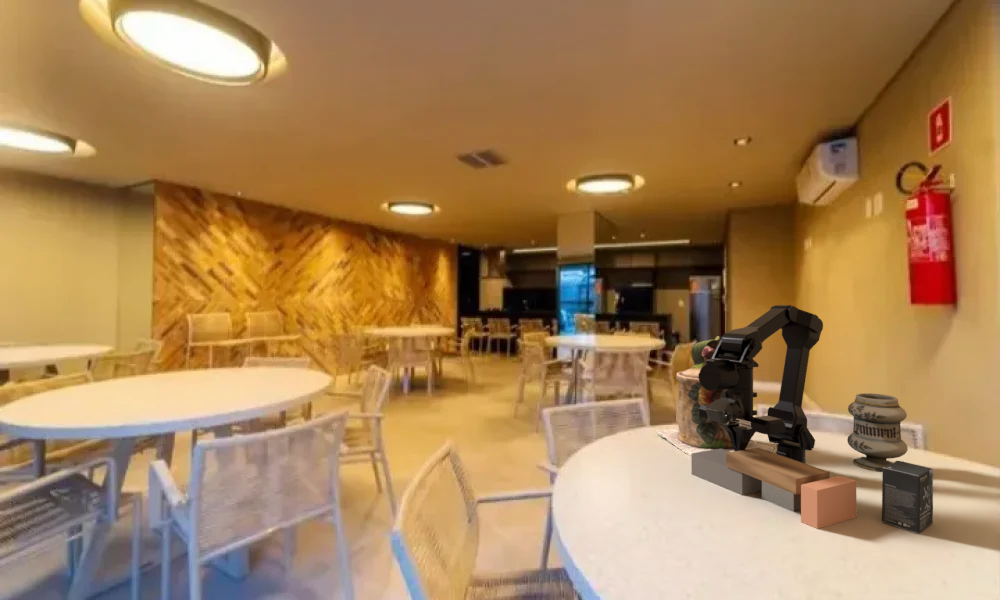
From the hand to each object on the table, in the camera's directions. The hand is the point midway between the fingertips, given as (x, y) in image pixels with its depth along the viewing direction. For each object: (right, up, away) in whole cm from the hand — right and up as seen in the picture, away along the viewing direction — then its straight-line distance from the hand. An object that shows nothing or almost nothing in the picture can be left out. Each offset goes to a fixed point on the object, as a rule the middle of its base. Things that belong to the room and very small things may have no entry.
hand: (739, 455), depth 109 cm
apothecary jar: (+42, -7, +12) cm, 44 cm away
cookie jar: (+8, -7, +31) cm, 33 cm away
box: (+22, -7, -19) cm, 30 cm away
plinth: (-1, -7, +2) cm, 7 cm away
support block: (+4, -7, -10) cm, 13 cm away
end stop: (+8, -6, -18) cm, 21 cm away
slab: (+3, -2, -8) cm, 9 cm away
